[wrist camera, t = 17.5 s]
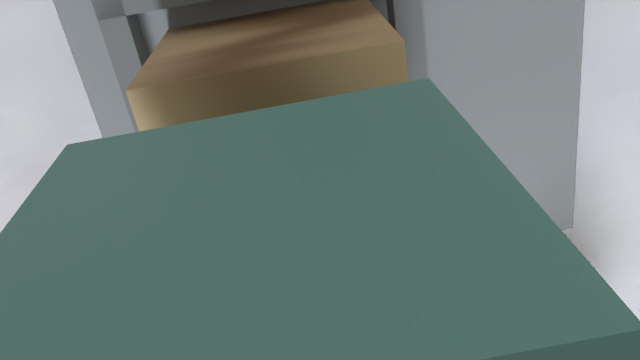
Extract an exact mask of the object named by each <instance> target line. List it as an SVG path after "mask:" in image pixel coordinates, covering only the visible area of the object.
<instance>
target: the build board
mask: <svg viewBox="0 0 640 360" xmlns="http://www.w3.org/2000/svg"><path fill="white" fill-rule="evenodd" d="M320 1H325V0H53V2H54V5H55V8H56V10H57V13H58V16H59V19H60V21H61V24H62V27H63V30H64V32H65V35H66V38H67V41H68V43H69V46H70V49H71V52H72V54H73V57H74V60H75V63H76V65H77V68H78V71H79V74H80V76H81V79H82V82H83V85H84V87H85V90H86V93H87V96H88V98H89V101H90V104H91V107H92V109H93V112H94V115H95V118H96V120H97V123H98V126H99V129H100V131H101V134H102V137H103V138H107V137H112V136H118V135H123V134H128V133H134V132H139V130H138V127H137V124H136V121H135V118H134V115H133V112H132V109H131V106H130V103H129V100H128V97H127V94H126V89H127V88H128V87H129V85H130V84H131V82H132V81H133V79H134V78H135V76H136V75H137V74H138V72H139V71H140V69H141V68H142V66H143V65H144V64H145V62H146V61H147V59H148V58H149V56H150V55H151V53H152V52H153V51H154V49H155V48H156V46H157V45H158V43H159V42H160V41H161V39H162V38H163V36H164V35H165V33H166V32H167V31H168V29H170V28H176V27H181V26H187V25H192V24H198V23H203V22H209V21H214V20H220V19H225V18H231V17H237V16H242V15H248V14H253V13H259V12H264V11H270V10H275V9H281V8H286V7H292V6H297V5H303V4H309V3H314V2H320ZM369 1H370V2H371V3H372V4H373V6H374V7H375V8H376V9H377V10H378V11H379V12H380V13H381V15H382V16H383V17H384V18H385V19H386V20H387V21H388V22H389V23H390V25H391V26H392V27H393V28H394V29H395V30H396V31H397V32H398V34H399V35H400V36H401V37H402V38H403V39H404V40H405V50H406V61H407V72H408V82H410V81H415V80H420V79H426V78H429V79H430V80H431V81H432V82H433V83H434V84H435V86H436V87H437V88H438V89H439V90H440V91H441V92H442V94H443V95H444V96H445V97H446V98H447V99H448V101H449V102H450V103H451V104H452V105H453V106H454V107H455V109H456V110H457V111H458V112H459V113H460V114H461V116H462V117H463V118H464V119H465V120H466V121H467V122H468V124H469V125H470V126H471V127H472V128H473V129H474V131H475V132H476V133H477V134H478V135H479V136H480V137H481V139H482V140H483V141H484V142H485V143H486V144H487V145H488V147H489V148H490V149H491V150H492V151H493V152H494V154H495V155H496V156H497V157H498V158H499V159H500V160H501V162H502V163H503V164H504V165H505V166H506V167H507V169H508V170H509V171H510V172H511V173H512V174H513V175H514V177H515V178H516V179H517V180H518V181H519V182H520V184H521V185H522V186H523V187H524V188H525V189H526V190H527V192H528V193H529V194H530V195H531V196H532V197H533V198H534V200H535V201H536V202H537V203H538V204H539V205H540V207H541V208H542V209H543V210H544V211H545V212H546V213H547V215H548V216H549V217H550V218H551V219H552V220H553V222H554V223H555V224H556V225H557V226H558V227H559V228H560V230H563V229H569V228H573V212H574V193H575V175H576V156H577V138H578V119H579V100H580V82H581V63H582V44H583V26H584V7H585V0H369Z"/></svg>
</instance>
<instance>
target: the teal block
mask: <svg viewBox="0 0 640 360" xmlns="http://www.w3.org/2000/svg"><path fill="white" fill-rule="evenodd" d="M0 360H640V321H639V319H638V318H637V317H636V316H635V315H634V314H633V313H632V311H631V310H630V309H629V308H628V307H627V306H626V304H625V303H624V302H623V301H622V300H621V299H620V298H619V296H618V295H617V294H616V293H615V292H614V291H613V290H612V288H611V287H610V286H609V285H608V284H607V283H606V281H605V280H604V279H603V278H602V277H601V276H600V275H599V273H598V272H597V271H596V270H595V269H594V268H593V266H592V265H591V264H590V263H589V262H588V261H587V260H586V258H585V257H584V256H583V255H582V254H581V253H580V251H579V250H578V249H577V248H576V247H575V246H574V245H573V243H572V242H571V241H570V240H569V239H568V238H567V237H566V235H565V234H564V233H563V232H562V231H561V230H560V228H559V227H558V226H557V225H556V224H555V223H554V222H553V220H552V219H551V218H550V217H549V216H548V215H547V213H546V212H545V211H544V210H543V209H542V208H541V207H540V205H539V204H538V203H537V202H536V201H535V200H534V198H533V197H532V196H531V195H530V194H529V193H528V192H527V190H526V189H525V188H524V187H523V186H522V185H521V184H520V182H519V181H518V180H517V179H516V178H515V177H514V175H513V174H512V173H511V172H510V171H509V170H508V169H507V167H506V166H505V165H504V164H503V163H502V162H501V160H500V159H499V158H498V157H497V156H496V155H495V154H494V152H493V151H492V150H491V149H490V148H489V147H488V145H487V144H486V143H485V142H484V141H483V140H482V139H481V137H480V136H479V135H478V134H477V133H476V132H475V131H474V129H473V128H472V127H471V126H470V125H469V124H468V122H467V121H466V120H465V119H464V118H463V117H462V116H461V114H460V113H459V112H458V111H457V110H456V109H455V107H454V106H453V105H452V104H451V103H450V102H449V101H448V99H447V98H446V97H445V96H444V95H443V94H442V92H441V91H440V90H439V89H438V88H437V87H436V86H435V84H434V83H433V82H432V81H431V80H430V79H429V78H426V79H420V80H415V81H410V82H404V83H399V84H393V85H388V86H383V87H377V88H372V89H366V90H361V91H356V92H350V93H345V94H339V95H334V96H329V97H323V98H318V99H312V100H307V101H301V102H296V103H291V104H285V105H280V106H274V107H269V108H264V109H258V110H253V111H247V112H242V113H237V114H231V115H226V116H220V117H215V118H210V119H204V120H199V121H193V122H188V123H182V124H177V125H172V126H166V127H161V128H155V129H150V130H145V131H139V132H134V133H128V134H123V135H118V136H112V137H107V138H101V139H96V140H91V141H85V142H80V143H74V144H69V145H67V146H66V147H65V148H64V150H63V151H62V152H61V153H60V155H59V156H58V157H57V159H56V160H55V161H54V163H53V164H52V165H51V167H50V168H49V169H48V171H47V172H46V173H45V175H44V176H43V177H42V179H41V180H40V181H39V183H38V184H37V185H36V187H35V188H34V189H33V191H32V192H31V193H30V195H29V196H28V197H27V199H26V200H25V201H24V203H23V204H22V205H21V206H20V208H19V209H18V210H17V212H16V213H15V214H14V216H13V217H12V218H11V220H10V221H9V222H8V224H7V225H6V226H5V228H4V229H3V230H2V232H1V233H0Z"/></svg>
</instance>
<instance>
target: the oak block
mask: <svg viewBox="0 0 640 360" xmlns="http://www.w3.org/2000/svg"><path fill="white" fill-rule="evenodd" d="M404 82H408V72H407V61H406V50H405V40H404V39H403V38H402V37H401V36H400V35H399V34H398V32H397V31H396V30H395V29H394V28H393V27H392V26H391V25H390V23H389V22H388V21H387V20H386V19H385V18H384V17H383V16H382V15H381V13H380V12H379V11H378V10H377V9H376V8H375V7H374V6H373V4H372V3H371V2H370V1H369V0H325V1H320V2H314V3H309V4H303V5H297V6H292V7H286V8H281V9H275V10H270V11H264V12H259V13H253V14H248V15H242V16H237V17H231V18H225V19H220V20H214V21H209V22H203V23H198V24H192V25H187V26H181V27H176V28H170V29H168V31H167V32H166V33H165V35H164V36H163V38H162V39H161V41H160V42H159V43H158V45H157V46H156V48H155V49H154V51H153V52H152V53H151V55H150V56H149V58H148V59H147V61H146V62H145V64H144V65H143V66H142V68H141V69H140V71H139V72H138V74H137V75H136V76H135V78H134V79H133V81H132V82H131V84H130V85H129V87H128V88H127V89H126V94H127V97H128V100H129V103H130V106H131V109H132V112H133V115H134V118H135V121H136V124H137V127H138V130H139V131H145V130H150V129H155V128H161V127H166V126H172V125H177V124H182V123H188V122H193V121H199V120H204V119H210V118H215V117H220V116H226V115H231V114H237V113H242V112H247V111H253V110H258V109H264V108H269V107H274V106H280V105H285V104H291V103H296V102H301V101H307V100H312V99H318V98H323V97H329V96H334V95H339V94H345V93H350V92H356V91H361V90H366V89H372V88H377V87H383V86H388V85H393V84H399V83H404Z"/></svg>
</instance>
